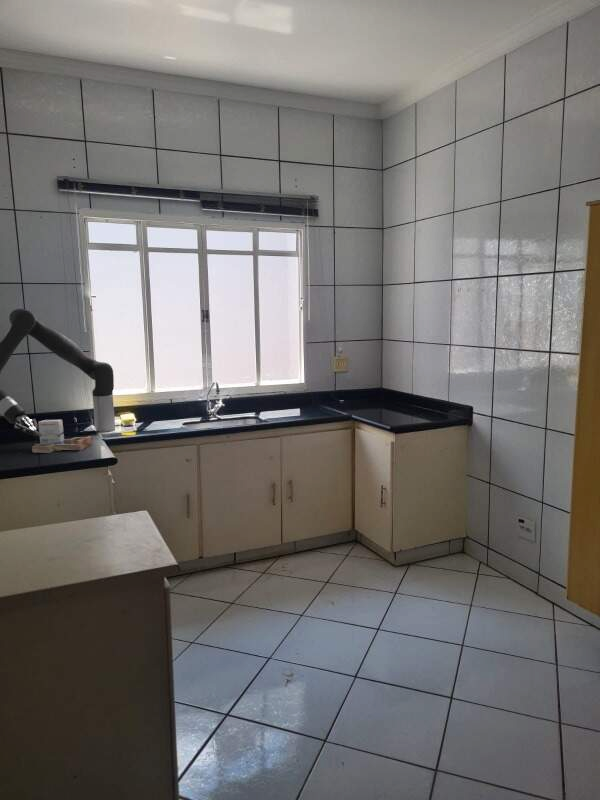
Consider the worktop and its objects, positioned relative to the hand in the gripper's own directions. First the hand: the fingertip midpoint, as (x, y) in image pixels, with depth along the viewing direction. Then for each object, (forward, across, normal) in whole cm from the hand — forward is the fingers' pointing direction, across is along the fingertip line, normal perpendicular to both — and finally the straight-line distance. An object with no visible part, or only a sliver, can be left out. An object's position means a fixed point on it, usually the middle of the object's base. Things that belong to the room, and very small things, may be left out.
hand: (39, 438), depth 243 cm
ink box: (+7, 0, -1) cm, 7 cm away
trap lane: (+10, 0, -4) cm, 11 cm away
